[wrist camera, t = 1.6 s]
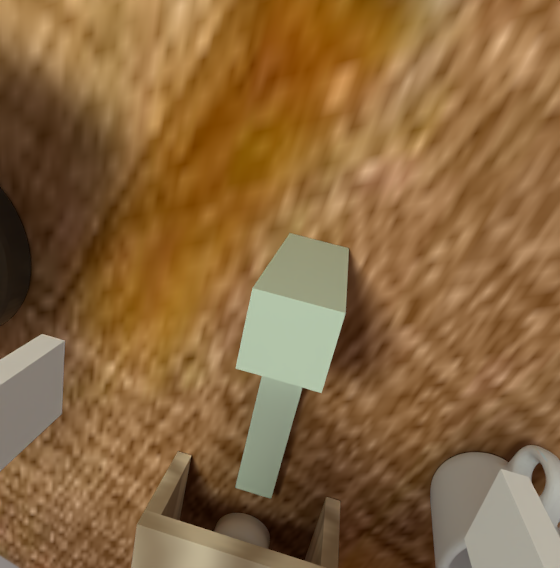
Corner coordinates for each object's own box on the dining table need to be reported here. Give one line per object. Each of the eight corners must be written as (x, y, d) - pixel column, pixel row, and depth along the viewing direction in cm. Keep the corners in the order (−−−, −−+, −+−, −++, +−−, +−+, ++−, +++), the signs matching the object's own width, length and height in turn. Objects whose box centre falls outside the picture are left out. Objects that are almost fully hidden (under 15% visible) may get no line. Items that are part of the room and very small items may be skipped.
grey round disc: (211, 544, 39) (203, 569, 37) (220, 504, 37) (212, 528, 35) (264, 561, 38) (258, 587, 36) (275, 521, 37) (270, 546, 34)
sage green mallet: (233, 473, 35) (184, 609, 25) (289, 233, 28) (252, 287, 18) (280, 487, 35) (249, 631, 25) (348, 248, 28) (345, 313, 17)
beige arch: (161, 550, 40) (122, 633, 33) (178, 451, 36) (137, 524, 29) (305, 597, 39) (295, 693, 32) (340, 500, 34) (337, 588, 28)
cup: (474, 389, 29) (515, 474, 22) (580, 437, 29) (657, 539, 22) (399, 494, 33) (412, 596, 26) (492, 536, 33) (533, 652, 26)
